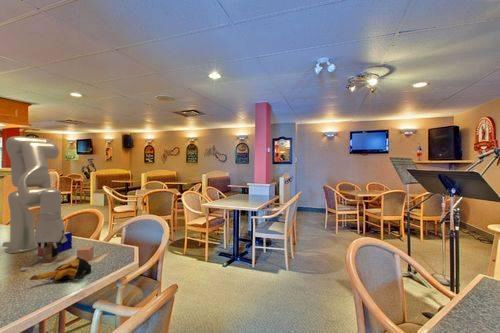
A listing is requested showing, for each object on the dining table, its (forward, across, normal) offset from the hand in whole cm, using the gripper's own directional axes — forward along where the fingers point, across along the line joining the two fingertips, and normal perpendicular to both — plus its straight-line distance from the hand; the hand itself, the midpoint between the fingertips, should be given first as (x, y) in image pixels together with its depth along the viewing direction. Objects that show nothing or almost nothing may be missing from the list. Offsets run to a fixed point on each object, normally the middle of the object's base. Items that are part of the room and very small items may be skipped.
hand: (50, 255), depth 113 cm
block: (+2, +14, 0) cm, 15 cm away
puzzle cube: (+4, -5, +15) cm, 16 cm away
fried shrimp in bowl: (+4, +14, -19) cm, 24 cm away
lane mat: (+4, +10, 0) cm, 10 cm away
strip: (+3, +11, 0) cm, 11 cm away
